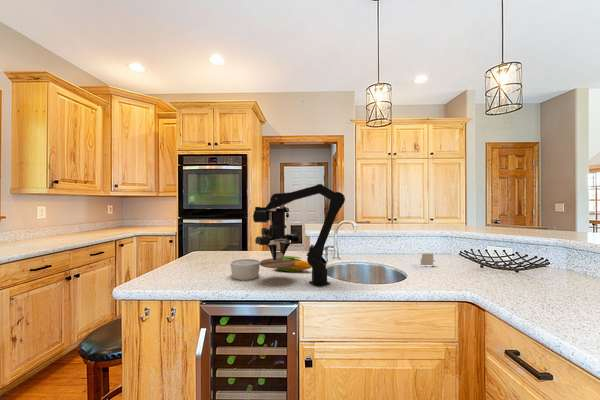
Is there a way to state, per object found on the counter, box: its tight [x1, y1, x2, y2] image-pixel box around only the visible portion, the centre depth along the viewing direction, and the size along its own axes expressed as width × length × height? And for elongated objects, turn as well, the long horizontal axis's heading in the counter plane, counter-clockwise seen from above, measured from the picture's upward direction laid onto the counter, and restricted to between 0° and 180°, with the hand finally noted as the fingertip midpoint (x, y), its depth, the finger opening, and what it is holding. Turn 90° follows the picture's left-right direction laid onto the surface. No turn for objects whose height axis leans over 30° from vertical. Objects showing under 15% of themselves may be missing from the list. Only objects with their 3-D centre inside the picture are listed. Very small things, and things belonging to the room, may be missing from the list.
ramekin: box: [230, 258, 261, 281], centre depth 121 cm, size 13×13×7 cm
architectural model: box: [419, 252, 436, 266], centre depth 142 cm, size 3×7×7 cm, turn 84°
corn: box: [276, 255, 312, 273], centre depth 131 cm, size 7×8×20 cm
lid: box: [260, 251, 295, 269], centre depth 114 cm, size 15×15×5 cm
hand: (277, 259), depth 114 cm, fingers closed on lid, 3 cm apart
